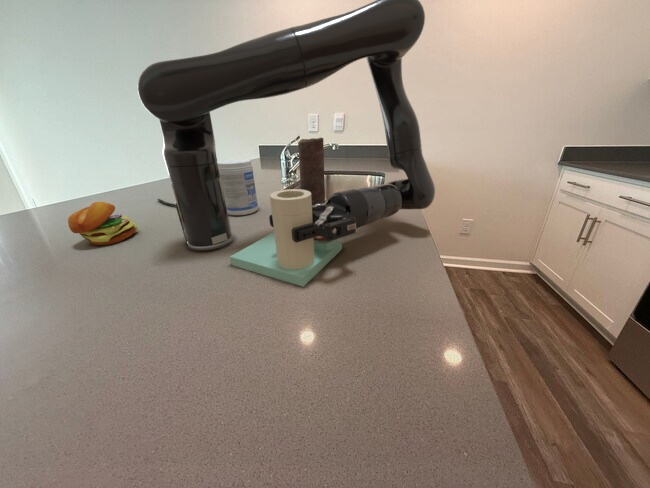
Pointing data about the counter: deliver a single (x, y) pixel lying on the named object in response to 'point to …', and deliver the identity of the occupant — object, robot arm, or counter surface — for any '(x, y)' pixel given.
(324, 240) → the tare button
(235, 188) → the supplement tub
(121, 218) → the cheeseburger
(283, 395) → the counter surface
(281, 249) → the jar
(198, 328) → the counter surface
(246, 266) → the scale
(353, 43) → the robot arm
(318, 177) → the candle
